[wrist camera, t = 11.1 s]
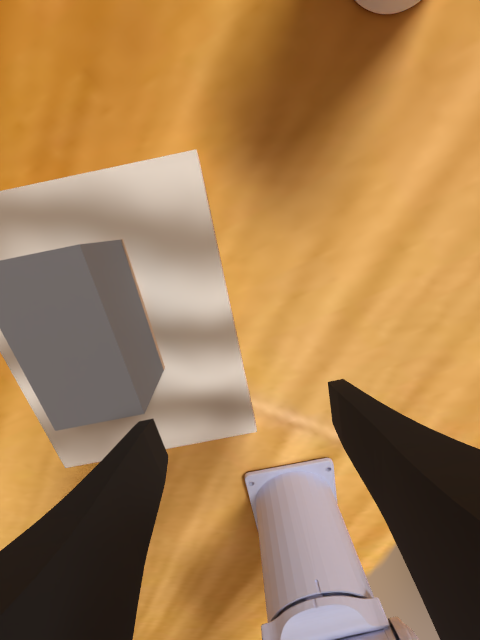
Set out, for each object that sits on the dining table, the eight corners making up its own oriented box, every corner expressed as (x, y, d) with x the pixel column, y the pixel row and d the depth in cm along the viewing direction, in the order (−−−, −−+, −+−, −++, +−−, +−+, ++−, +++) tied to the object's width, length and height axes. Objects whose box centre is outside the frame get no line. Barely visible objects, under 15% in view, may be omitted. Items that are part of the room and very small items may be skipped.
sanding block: (165, 367, 19) (144, 413, 14) (97, 380, 19) (55, 430, 14) (123, 239, 16) (79, 244, 11) (43, 255, 16) (-33, 267, 11)
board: (255, 423, 22) (257, 431, 21) (72, 457, 23) (65, 468, 22) (198, 154, 16) (196, 149, 15) (-62, 209, 16) (-81, 208, 15)
